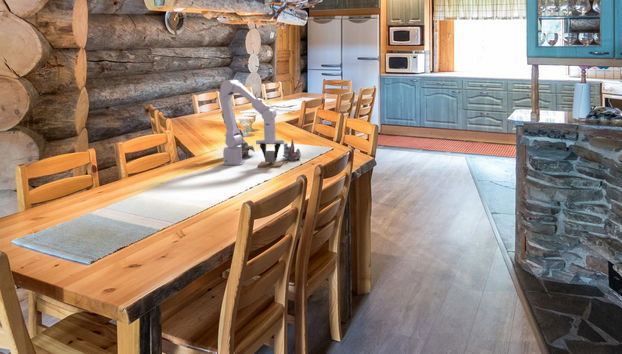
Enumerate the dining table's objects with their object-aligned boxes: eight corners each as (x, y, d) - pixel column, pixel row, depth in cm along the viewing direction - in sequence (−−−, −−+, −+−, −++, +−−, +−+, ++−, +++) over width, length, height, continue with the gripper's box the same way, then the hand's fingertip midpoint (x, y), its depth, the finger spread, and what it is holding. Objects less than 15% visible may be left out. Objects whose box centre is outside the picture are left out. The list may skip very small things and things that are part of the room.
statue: (224, 163, 313) (208, 110, 312) (230, 162, 332) (215, 112, 330) (253, 154, 312) (237, 102, 311) (257, 154, 331) (242, 104, 329)
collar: (265, 162, 293) (264, 152, 292) (267, 160, 298) (266, 150, 297) (274, 162, 293) (274, 152, 292) (276, 160, 298) (276, 150, 296)
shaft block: (257, 167, 292) (257, 158, 291) (261, 163, 302) (261, 155, 301) (280, 167, 291) (280, 158, 290) (283, 163, 300) (283, 155, 299)
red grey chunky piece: (303, 156, 305) (289, 139, 303) (287, 169, 307) (274, 151, 306) (306, 153, 316) (292, 136, 314) (290, 164, 318) (277, 147, 317)
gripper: (254, 133, 289) (255, 159, 292) (282, 133, 287) (283, 159, 291) (257, 131, 296) (258, 156, 299) (284, 131, 294) (285, 156, 297)
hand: (270, 157), depth 295 cm, fingers closed on collar, 5 cm apart
